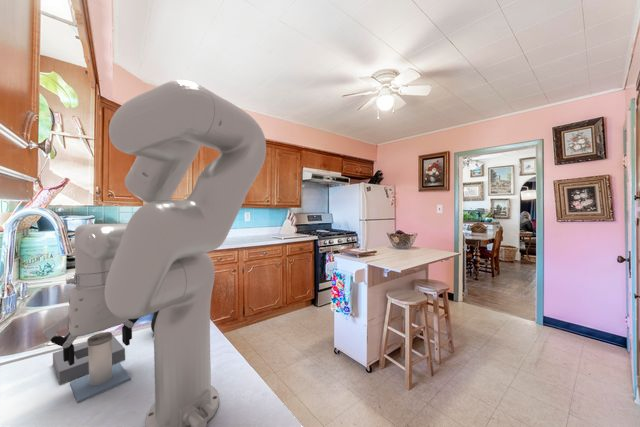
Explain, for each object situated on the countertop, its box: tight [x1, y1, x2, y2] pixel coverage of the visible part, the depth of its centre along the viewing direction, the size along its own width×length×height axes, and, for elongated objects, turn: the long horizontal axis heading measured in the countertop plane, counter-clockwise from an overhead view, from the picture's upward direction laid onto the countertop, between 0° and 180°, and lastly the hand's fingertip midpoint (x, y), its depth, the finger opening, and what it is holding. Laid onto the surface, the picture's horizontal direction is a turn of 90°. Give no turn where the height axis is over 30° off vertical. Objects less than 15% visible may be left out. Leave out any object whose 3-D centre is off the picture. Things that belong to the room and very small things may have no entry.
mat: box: [69, 362, 132, 404], centre depth 58 cm, size 9×9×1 cm
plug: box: [86, 331, 113, 386], centre depth 58 cm, size 4×4×10 cm
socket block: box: [52, 334, 126, 386], centre depth 65 cm, size 12×12×3 cm
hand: (100, 352), depth 58 cm, fingers open, 9 cm apart
